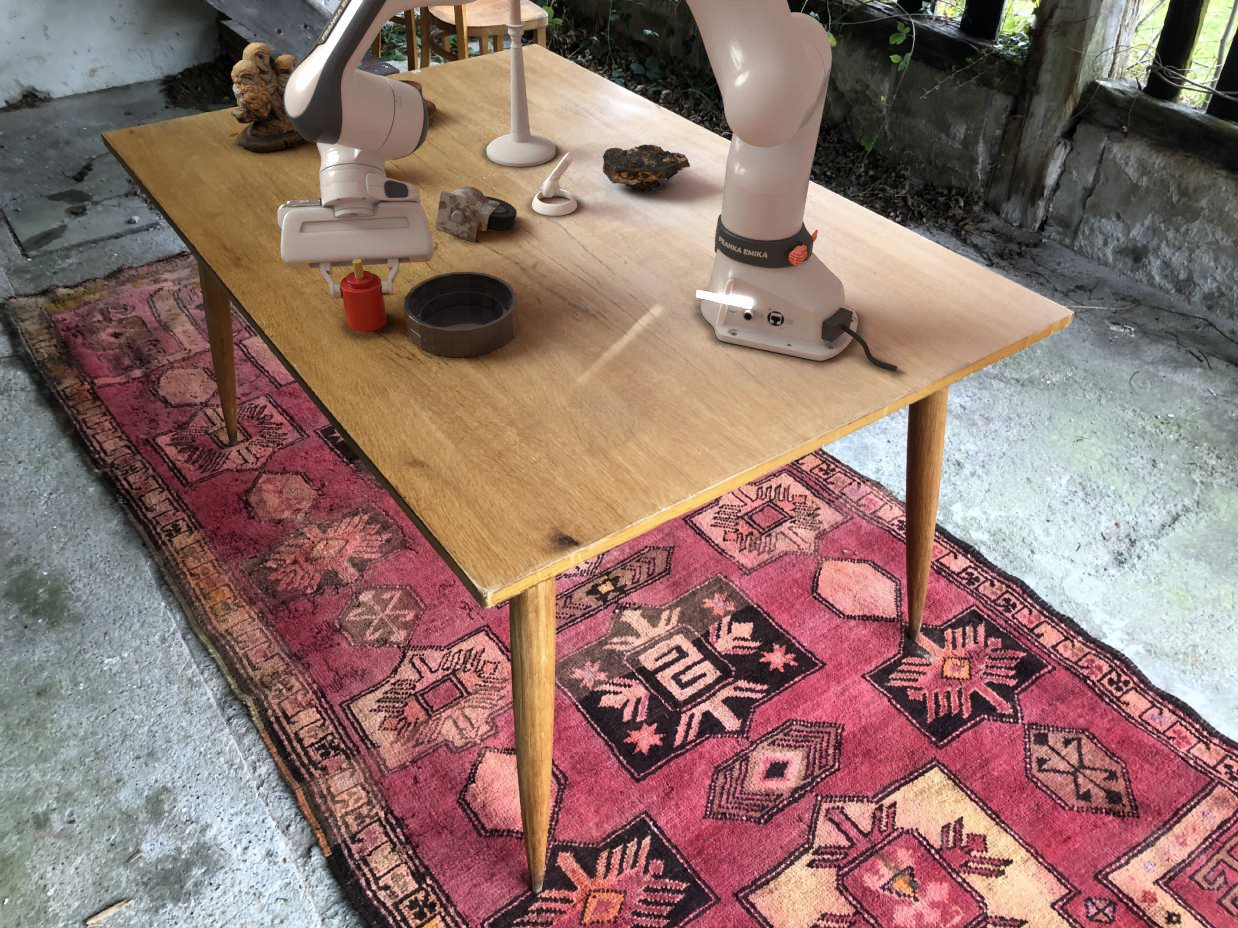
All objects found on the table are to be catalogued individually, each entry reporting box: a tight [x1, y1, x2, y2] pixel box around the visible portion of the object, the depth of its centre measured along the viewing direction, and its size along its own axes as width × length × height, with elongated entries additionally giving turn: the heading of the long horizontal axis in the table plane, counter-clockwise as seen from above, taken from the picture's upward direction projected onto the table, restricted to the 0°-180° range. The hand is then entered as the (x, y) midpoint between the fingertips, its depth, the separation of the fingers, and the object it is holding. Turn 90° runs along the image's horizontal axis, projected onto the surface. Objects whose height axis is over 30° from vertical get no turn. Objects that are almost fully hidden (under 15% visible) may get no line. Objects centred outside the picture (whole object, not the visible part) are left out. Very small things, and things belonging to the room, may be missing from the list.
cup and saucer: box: [397, 79, 437, 120], centre depth 191 cm, size 12×12×6 cm
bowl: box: [403, 271, 519, 358], centre depth 135 cm, size 15×15×5 cm
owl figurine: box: [230, 42, 308, 153], centre depth 179 cm, size 18×12×17 cm, turn 148°
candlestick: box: [486, 0, 557, 168], centre depth 172 cm, size 13×13×30 cm
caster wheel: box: [434, 186, 518, 243], centre depth 158 cm, size 7×11×10 cm
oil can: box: [339, 259, 388, 333], centre depth 133 cm, size 5×5×10 cm
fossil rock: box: [602, 144, 691, 193], centre depth 171 cm, size 14×14×6 cm
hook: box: [531, 151, 578, 217], centre depth 163 cm, size 8×12×7 cm
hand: (362, 296), depth 133 cm, fingers closed on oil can, 5 cm apart
